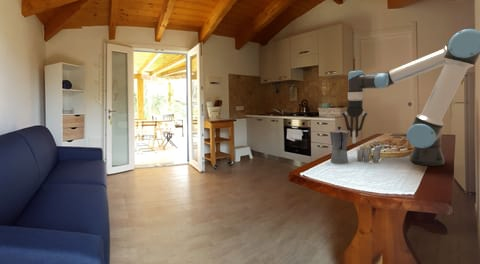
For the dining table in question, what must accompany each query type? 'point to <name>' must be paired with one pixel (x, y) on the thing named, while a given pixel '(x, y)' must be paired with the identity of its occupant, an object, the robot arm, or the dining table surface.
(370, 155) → the nut
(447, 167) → the dining table surface
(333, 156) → the moka pot
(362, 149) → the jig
